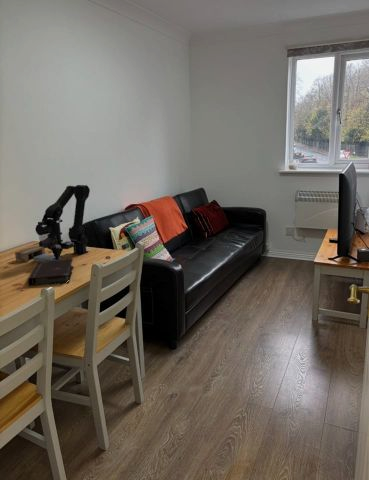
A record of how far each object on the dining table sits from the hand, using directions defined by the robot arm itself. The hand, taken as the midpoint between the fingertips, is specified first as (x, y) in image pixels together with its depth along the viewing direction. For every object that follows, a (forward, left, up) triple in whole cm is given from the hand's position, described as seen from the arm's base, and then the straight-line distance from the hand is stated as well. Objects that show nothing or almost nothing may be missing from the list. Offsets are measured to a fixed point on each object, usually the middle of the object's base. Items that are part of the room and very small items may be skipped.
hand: (57, 259), depth 213 cm
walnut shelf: (+18, 0, -1) cm, 19 cm away
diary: (-14, +20, -2) cm, 24 cm away
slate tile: (+7, 0, -2) cm, 7 cm away
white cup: (+28, -24, -1) cm, 37 cm away
